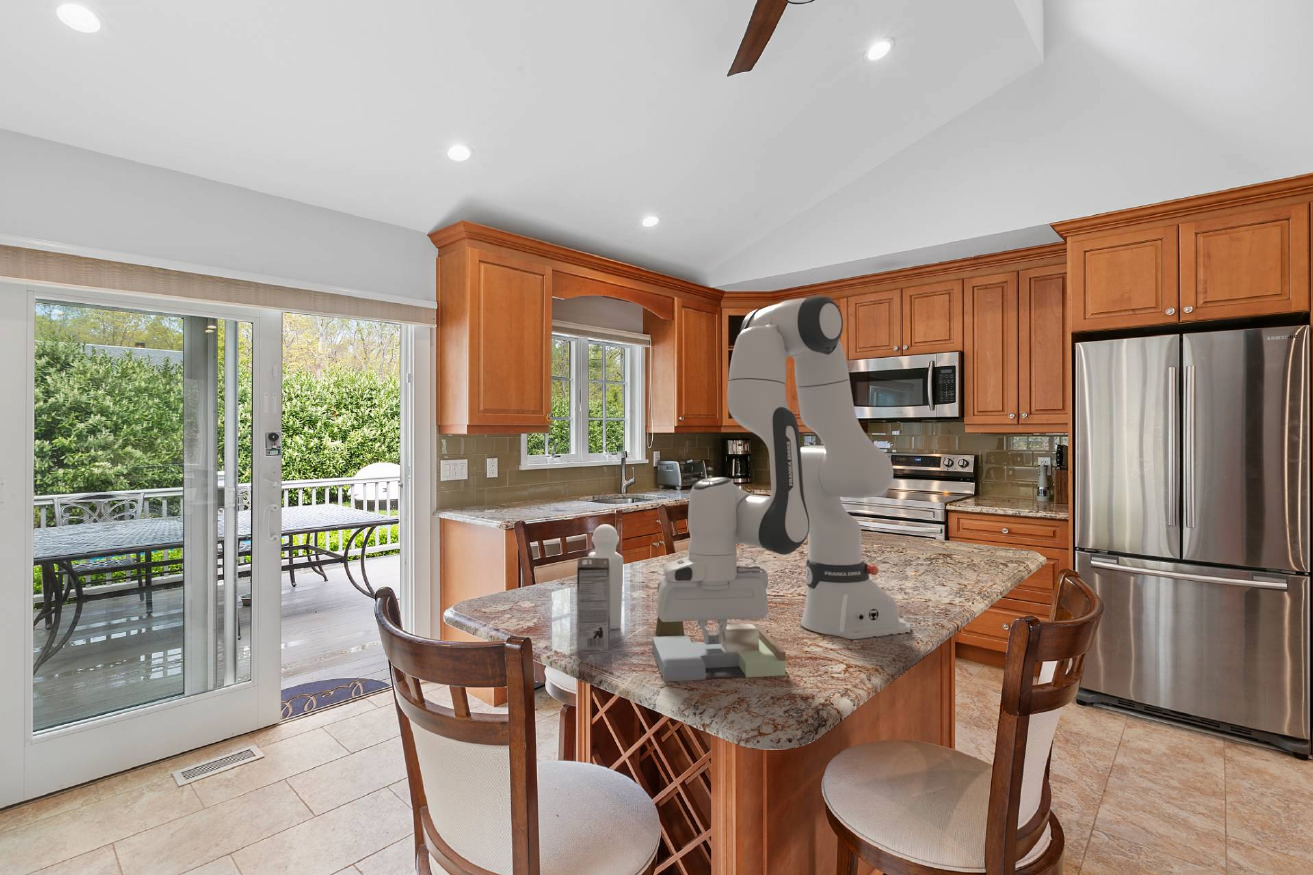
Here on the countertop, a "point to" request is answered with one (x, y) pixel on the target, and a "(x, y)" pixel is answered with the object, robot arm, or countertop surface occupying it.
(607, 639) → the coffee box
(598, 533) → the white peg figure
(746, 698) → the countertop surface
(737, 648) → the cream block
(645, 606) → the countertop surface
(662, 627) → the cork
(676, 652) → the track
